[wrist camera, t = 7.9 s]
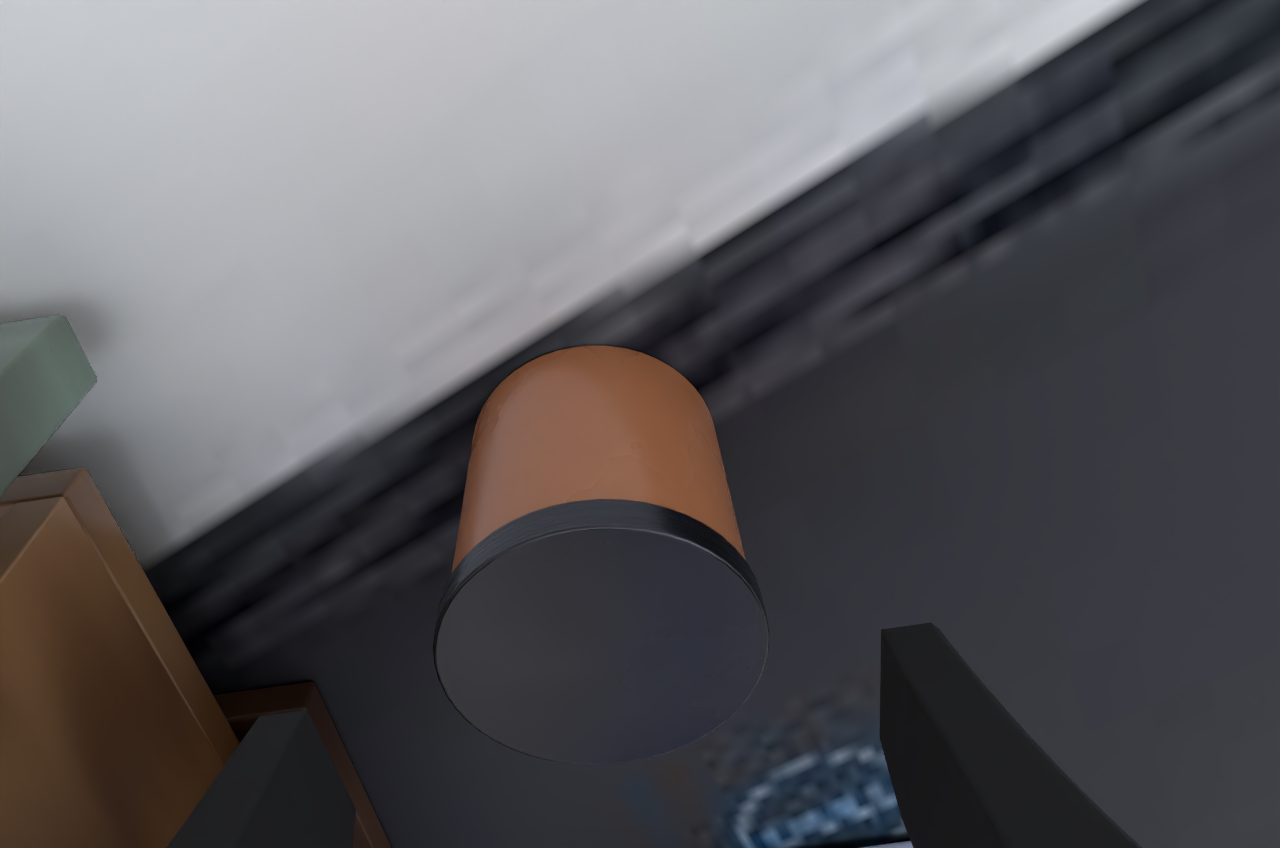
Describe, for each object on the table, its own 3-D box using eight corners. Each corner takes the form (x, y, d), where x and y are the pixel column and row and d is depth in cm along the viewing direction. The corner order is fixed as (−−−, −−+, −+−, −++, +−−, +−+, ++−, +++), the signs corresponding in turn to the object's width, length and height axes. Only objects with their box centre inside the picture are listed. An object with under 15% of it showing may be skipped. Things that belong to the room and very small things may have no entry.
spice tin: (709, 320, 16) (759, 502, 12) (730, 531, 18) (778, 743, 14) (439, 359, 16) (392, 555, 12) (497, 563, 18) (475, 784, 14)
